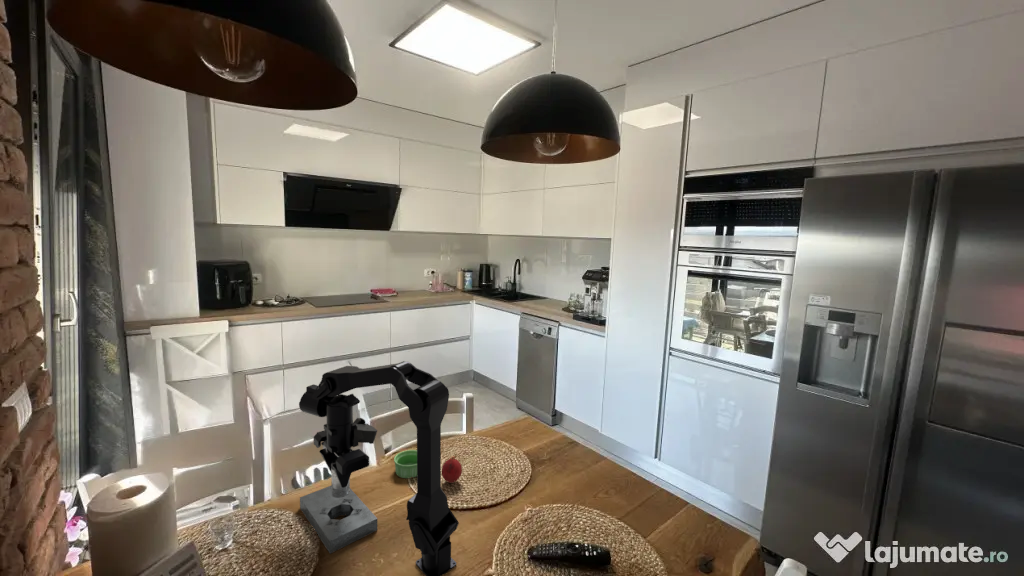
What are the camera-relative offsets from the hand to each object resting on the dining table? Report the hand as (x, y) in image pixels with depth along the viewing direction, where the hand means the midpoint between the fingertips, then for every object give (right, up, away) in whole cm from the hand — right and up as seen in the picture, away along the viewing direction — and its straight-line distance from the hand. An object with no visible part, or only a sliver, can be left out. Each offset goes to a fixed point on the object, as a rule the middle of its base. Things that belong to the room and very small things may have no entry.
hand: (340, 482), depth 97 cm
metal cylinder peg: (0, -3, 0) cm, 2 cm away
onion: (+24, -10, +19) cm, 32 cm away
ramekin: (+10, -9, +24) cm, 28 cm away
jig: (-2, -10, +3) cm, 11 cm away
